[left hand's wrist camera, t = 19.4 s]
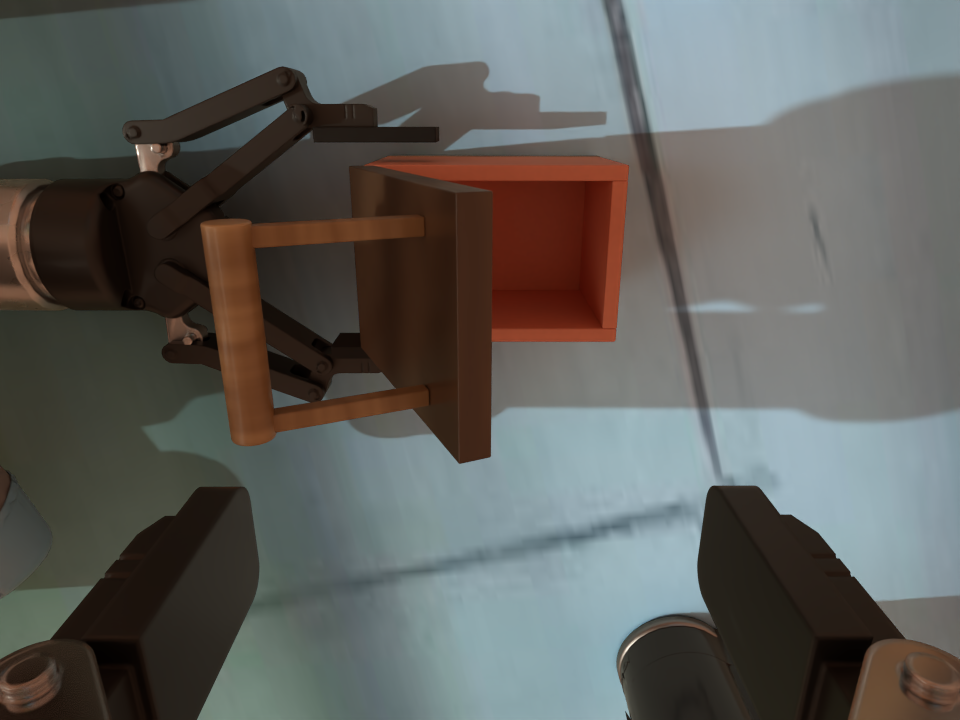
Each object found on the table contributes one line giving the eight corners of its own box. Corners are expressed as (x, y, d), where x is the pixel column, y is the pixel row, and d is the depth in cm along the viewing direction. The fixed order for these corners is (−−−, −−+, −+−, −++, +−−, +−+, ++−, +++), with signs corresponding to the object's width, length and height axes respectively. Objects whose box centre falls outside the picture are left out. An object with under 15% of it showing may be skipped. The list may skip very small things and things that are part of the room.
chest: (596, 155, 42) (629, 165, 33) (588, 298, 45) (615, 342, 36) (388, 155, 42) (363, 164, 33) (395, 297, 45) (373, 342, 36)
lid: (493, 190, 20) (199, 203, 17) (491, 457, 24) (243, 511, 20) (374, 165, 32) (187, 169, 29) (383, 344, 36) (216, 366, 32)
